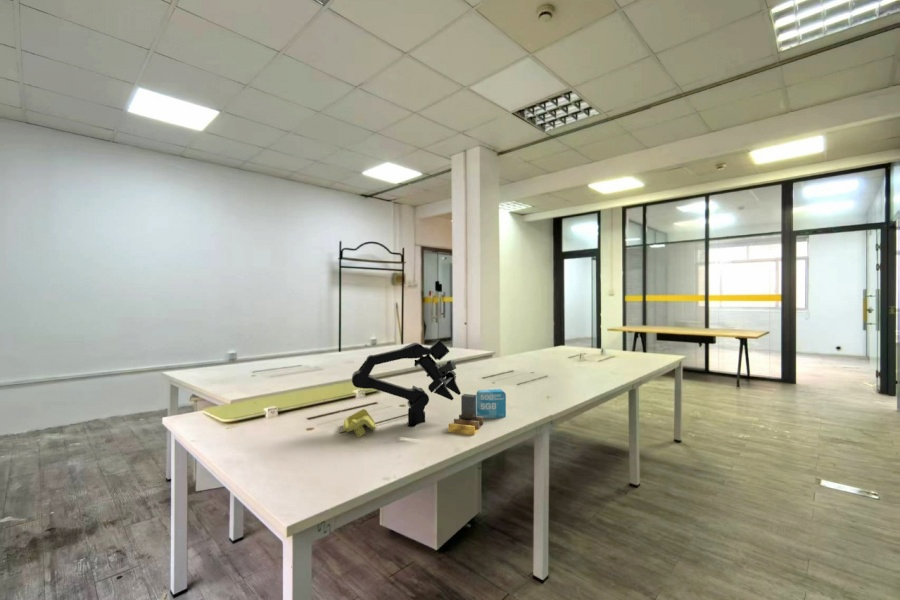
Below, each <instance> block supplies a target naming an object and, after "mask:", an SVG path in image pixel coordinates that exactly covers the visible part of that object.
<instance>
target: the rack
mask: <svg viewBox="0 0 900 600" xmlns="http://www.w3.org/2000/svg"><path fill="white" fill-rule="evenodd" d="M483 425H484V418H483V417H479V416H477V415H476V421H472V420H463V419H461V414H459V415H458V418H453V423H450V422H449V423H448V432H449V433H453V434H461V435H462V434H463V435H471V436H475V435H476V434H477V432H478V431H479V430H480V429H481V428H482V427H483Z"/></svg>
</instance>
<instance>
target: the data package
mask: <svg viewBox="0 0 900 600" xmlns="http://www.w3.org/2000/svg"><path fill="white" fill-rule="evenodd" d="M475 395H476V416H479V417H483V419H492V418H493V419H495V418H496V419H497V418H498V419H499V418H506V416H507V395H506V392H505V391H503V390H502V389H500V388H499V389H495V388H493V389H479V390H477V391H476V394H475Z"/></svg>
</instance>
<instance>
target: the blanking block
mask: <svg viewBox="0 0 900 600" xmlns="http://www.w3.org/2000/svg"><path fill="white" fill-rule="evenodd" d="M460 397H461V400H460V401H461V407H460V408H461V409H460V410H461V419H463V420H472V421H476V416H477V414H476V394H469V393H463V394H462V395H461V396H460Z"/></svg>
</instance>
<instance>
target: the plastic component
mask: <svg viewBox="0 0 900 600" xmlns="http://www.w3.org/2000/svg"><path fill="white" fill-rule="evenodd" d="M363 425H366V427H368V428H369V429H370V430H373V431H374V430H376V429H377V427H376V423H375V421H374V419H373V418H372V416H371V415H370V413H369V412H368V410H367V409H365V408H364V409H360V410H359V411H357V412H355V413H353V414H351V415H350V416H349V415H348V417H346V418H345V419H344V422H343V426H342V428H343V429H344V431H345V432H347V433H349V432H352V431H354V433H355V435H356V437H357V438H359V437H362V436H364V435H365V434H366V430H365V427H364V426H363Z"/></svg>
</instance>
